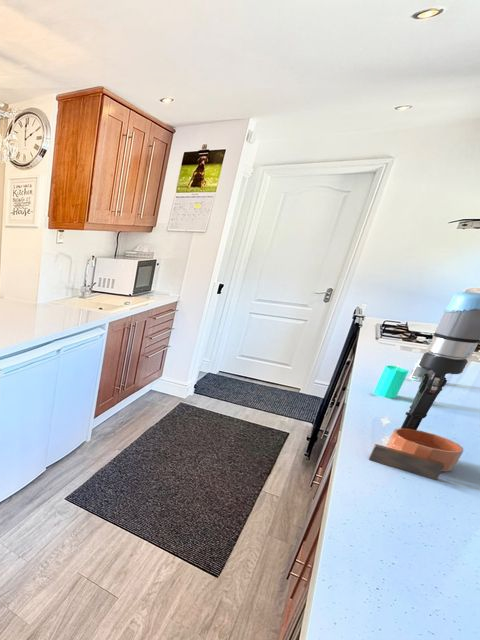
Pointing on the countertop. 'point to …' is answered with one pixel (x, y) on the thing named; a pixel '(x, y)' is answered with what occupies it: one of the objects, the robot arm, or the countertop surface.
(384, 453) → the bar
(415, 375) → the pill bottle
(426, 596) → the countertop surface
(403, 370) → the candle
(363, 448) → the countertop surface
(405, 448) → the bowl
